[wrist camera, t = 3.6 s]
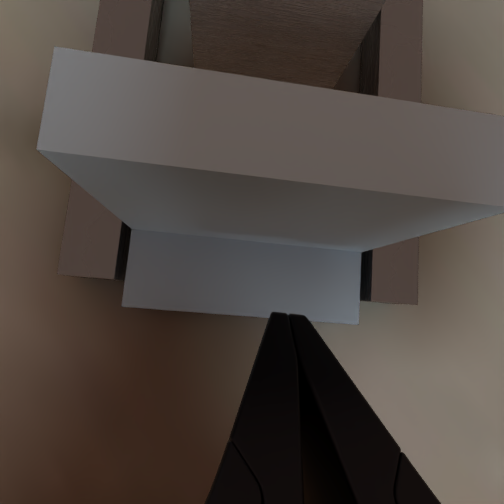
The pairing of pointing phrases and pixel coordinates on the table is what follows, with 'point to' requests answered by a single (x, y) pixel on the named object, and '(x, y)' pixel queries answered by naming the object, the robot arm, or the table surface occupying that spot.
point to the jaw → (260, 180)
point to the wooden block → (280, 37)
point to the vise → (371, 83)
